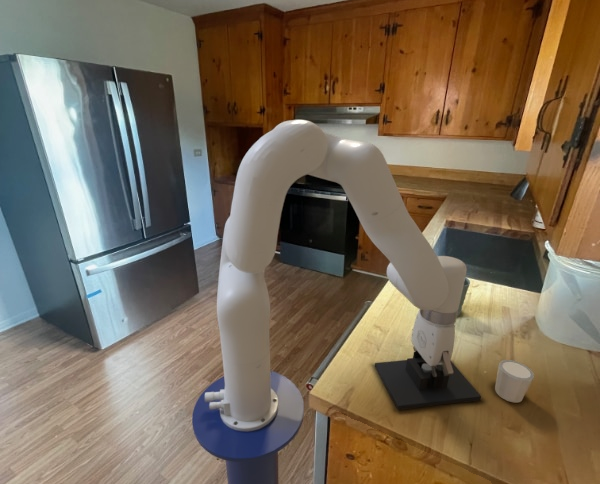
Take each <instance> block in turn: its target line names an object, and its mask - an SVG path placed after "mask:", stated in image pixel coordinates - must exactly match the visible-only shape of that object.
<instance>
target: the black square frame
mask: <svg viewBox="0 0 600 484" xmlns="http://www.w3.org/2000/svg"><path fill="white" fill-rule="evenodd" d="M406 360H407V363H406V369H405V370H406V372H407V373H408V374H409V376H410V378H411V379H412V381H413V382H414V384H415V385H416V387H417V388H418V390H419V391H420V390H429V388H428V382H429V376H430V374H431V373H432V372H429V373H424V372H423V370H422V369H421V367H422V364H427V363H426V361H425V360H424V359H423V358H422V357H420V358H413V357H410V358H406ZM436 367H437V371H439V370H441V365H436ZM448 380H449V375H448V376H444V378H443V383H442V387H441V388H447V384H448ZM433 389H438V388H433Z"/></svg>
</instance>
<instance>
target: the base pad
mask: <svg viewBox="0 0 600 484" xmlns="http://www.w3.org/2000/svg"><path fill="white" fill-rule="evenodd" d="M440 361H441V360H440ZM450 362H451V366H452V369H453V374H451V375H449V380H448V384H447V388H438V389H429V390H420V391H419V390H418V388H417V387H416V385H415V384H414V382H413V381H412V379H411V378H410V376H409V374H408V373H407V372H406V370H405V369H406V363H407V359H402V360H401V359H400V360H393V361H381V362H375V363H374V368H375V371H376V373H377V374H378V376H379V378H380V380H381V382H382V384H383V386H384V387H385V390H386V391H387V393H388V395H389V397H390V399H391V401H392V402H393V404H394V406H395V408H396V410H397V411H400V410H409V409H416V408H418V409H419V408H424V407H425V408H426V407H435V406H444V405H451V404H459V403H468V402H476V401H481V399H482V395H481V394H480V393H479V392H478V390H477V389H476V388H475V386H474V385H473V384H471V382H470V381H469V380H468V378H466V377H465V376H464V374H463V373H462V372H461V371H460V370H459V368H458V367H457V366H456V365H455V363H453V362H452V359H451V360H450ZM421 369H422V370H423V372H424V373H429V372H432V366H430V365H429V364H422V367H421Z"/></svg>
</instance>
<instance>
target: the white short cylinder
mask: <svg viewBox="0 0 600 484" xmlns="http://www.w3.org/2000/svg"><path fill="white" fill-rule="evenodd" d="M534 378H535V374H534V372H533V371H532V369H531V368H530V367H529V366H527V365H525V364H524V363H522V362H519V361H517V360H512V359H503V360H501V361H499V363H498V367H497V374H496V378H495V379H496V380H495V386H494V390H495V393H496V394H497V396H498V397H500V398H502V399H503V400H505V401H507V402H510V403H514V404H515V403H521V402H522V401H523V399H524V397H525V395H526V394H527V392H528V389H529V388H530V387H531V384H532V383H533V380H534Z"/></svg>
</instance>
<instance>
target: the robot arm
mask: <svg viewBox="0 0 600 484" xmlns="http://www.w3.org/2000/svg"><path fill="white" fill-rule="evenodd" d="M307 175H309V176H311V177H315V178H319V179H322V180H326V181H329V182H333V183H337V184H338V185H340V186H341V187H342V189H343V191H344V193H345V195H346V197H347V199H348V201H349V203H350V204H351V207H352V208H353V210H354V212H355V214H356V216H357V218H358V220H359V223H360V224H361V226H362V229H363V230H364V232H365V234H366V235H367V236H368V238H369V240H370V241H371V242H372V244H373V245H374V246H375V247H376V248H377V249H378V250H379V251H380V252H381V253H382V254H383V255H384V256H385V258H386V259H387V260H388V261H389V263H388V265H387V267H386V277H387V279H388V281H389V282H390V284H391V285H392V286H393V287H394V288H395V289H396V290H397V291H398V292H399V293H400V294H401V295H402V296H403V297H404V298H406V299H407V300H408V301H409V303H410V304H412V306H414V307H415V308H417V309H418V312H417V314H416V316H415V320H414V323H413V327H412V332H411V337H410V338H411V339H410V341H411V342H410V343H411V344H412V345H413V347H412V349H413V355H412V358H420V357H422V358H423V359H424V360H425V361H426V363H427V364H429V365H430V366H432V373H431V374H430V376H429V382H428V388H429V389H433V388H441V387H442V383H443V378H444V376H448V375H451V374H453V369H452V366H451V362H452V356H453V352H454V348H455V347H454V346H455V339H456V338H455V337H456V325H455V324H456V322H457V317H458V316H457V313H458V309H459V304H460V300H461V295H462V291H463V286H464V281H465V277H466V276H467V271H468V268H467V265H466V264H465V262H464V261H463V260H461V259H459V258H457V257H453V256H447V255H437V253H436V252H435V250H434V248H433V247H432V245H431V244H430V242H429V241H428V240H427V238H426V236H425V235H424V234H423V232H422V231H421V229H420V228H419V226H418V225H417V223H416V222H415V220H414V219H413V218H412V216H411V215H410V213H409V211H408V209H407V207H406V204H405V202H404V200H403V197H402V195H401V193H400V190H399V188H398V186H397V184H396V181H395V179H394V177H393V174H392V172H391V169H390V167H389V165H388V163H387V160H386V157H385V156H384V154H383V153H382V150H380V148H378V147H377V146H376V145H375V144H373V143H371V142H368V141H362V140H355V139H349V138H345V137H341V136H338V135H335V134H331V133H329V132H325V131H324V130H323V129H321V127H320V126H318V125H317V124H316V123H314V122H312V121H310V120H306V119H293V120H291V119H290V120H286V121H281V123H279V124H277V125H276V126H275V127H274V128H273V129H272V130H269V132H266V133H265V134H264V135H262V136H261V137H259V139H258V140H257V141H255V142H254V143H253V144H252V145H251V146H250V148H249V149H248V151H247V152H245V155H244V156H243V158H242V160H241V161H240V164H239V167H238V169H237V173H236V177H235V183H234V189H233V194H232V199H231V205H230V215H229V216H228V218H227V220H226V221H225V224H224V229H223V235H222V245H221V254H220V261H219V270H218V280H217V281H218V283H217V290H216V291H217V295H216V317H217V318H216V319H217V324H218V330H219V338H220V348H221V349H220V350H221V356H222V367H223V377H224V380H225V389H222V390H220V392H206V393H205V402H210V405H209V408H210V409H216V408H220V416H221V419H222V421H223V422H224V423H225V424H226V425H227V426H228V427H230V428H232V429H234V430H237V431H246V432H247V431H254V430H257V429H260V428H262V427H264V426H266V425H267V424H269V423H270V422H271V421H272V420H273V418H274V417H275V416H276V413H277V411H278V397H277V395H276V393H275V392H274V391H273V390H272V389H271V375H270V371H271V346H270V345H271V343H270V342H271V341H270V340H271V339H270V327H271V300H270V295H269V290H268V285H267V283H266V278H265V271H266V269H267V267H268V266H270V265H271V263H272V261H273V259H274V257H275V254H276V251H277V245H278V235H279V229H280V224H281V218H282V212H283V207H284V203H285V200H286V196H287V194H288V191H289V190H290V187H291V186H292V185H293V184H294V183H295V182H296V181H297V180H298V179H300V178H302V177H304V176H307ZM466 278H467V277H466ZM440 360H441V361H440ZM450 360H451V362H450ZM436 365H441V370H439V371H437V367H436ZM216 400H220V402H212V401H216Z"/></svg>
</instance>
